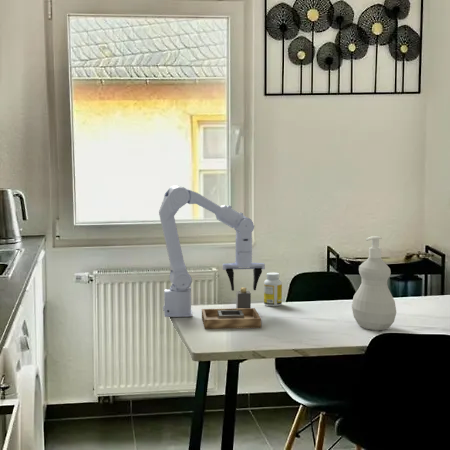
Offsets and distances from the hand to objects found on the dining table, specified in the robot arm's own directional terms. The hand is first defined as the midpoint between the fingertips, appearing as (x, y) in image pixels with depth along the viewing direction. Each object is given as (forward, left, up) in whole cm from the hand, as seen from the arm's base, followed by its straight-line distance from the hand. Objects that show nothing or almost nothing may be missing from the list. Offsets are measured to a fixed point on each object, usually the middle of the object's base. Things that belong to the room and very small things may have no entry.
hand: (243, 289), depth 275 cm
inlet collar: (-6, -16, -8) cm, 19 cm away
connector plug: (0, 0, -8) cm, 8 cm away
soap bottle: (+39, -26, -8) cm, 48 cm away
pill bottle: (+12, +11, -8) cm, 18 cm away
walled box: (-6, -16, -8) cm, 19 cm away
